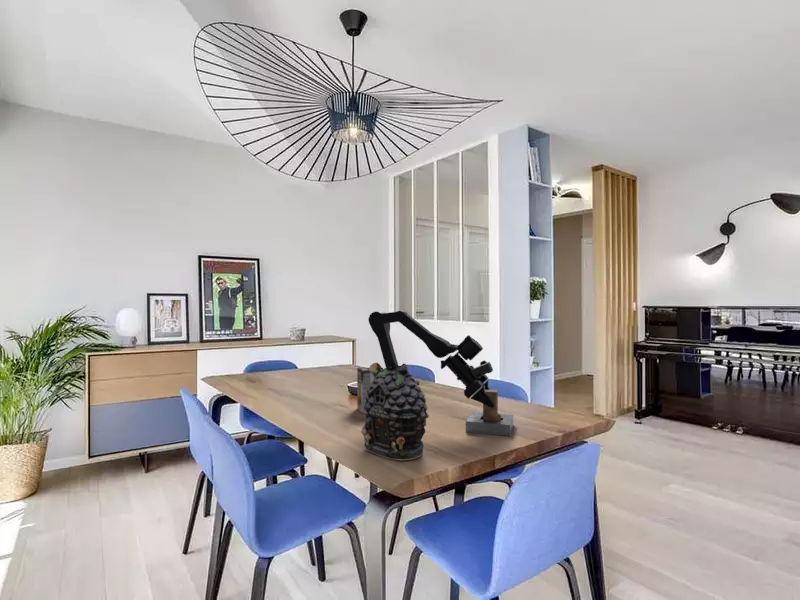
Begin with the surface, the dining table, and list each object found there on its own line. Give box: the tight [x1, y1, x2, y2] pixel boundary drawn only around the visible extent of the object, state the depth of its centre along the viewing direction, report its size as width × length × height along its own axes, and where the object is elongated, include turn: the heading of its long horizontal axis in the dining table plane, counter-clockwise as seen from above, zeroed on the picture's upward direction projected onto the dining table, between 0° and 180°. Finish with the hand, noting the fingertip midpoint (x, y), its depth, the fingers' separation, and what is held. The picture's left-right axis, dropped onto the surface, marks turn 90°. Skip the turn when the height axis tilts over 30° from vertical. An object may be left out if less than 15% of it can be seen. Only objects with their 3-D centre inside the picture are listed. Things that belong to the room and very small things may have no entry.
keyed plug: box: [482, 389, 502, 421], centre depth 149 cm, size 6×4×12 cm
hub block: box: [465, 411, 514, 437], centre depth 149 cm, size 14×14×4 cm
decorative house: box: [360, 362, 430, 461], centre depth 125 cm, size 21×15×25 cm
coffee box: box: [356, 367, 371, 414], centre depth 174 cm, size 9×6×16 cm
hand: (494, 404), depth 149 cm, fingers open, 7 cm apart
